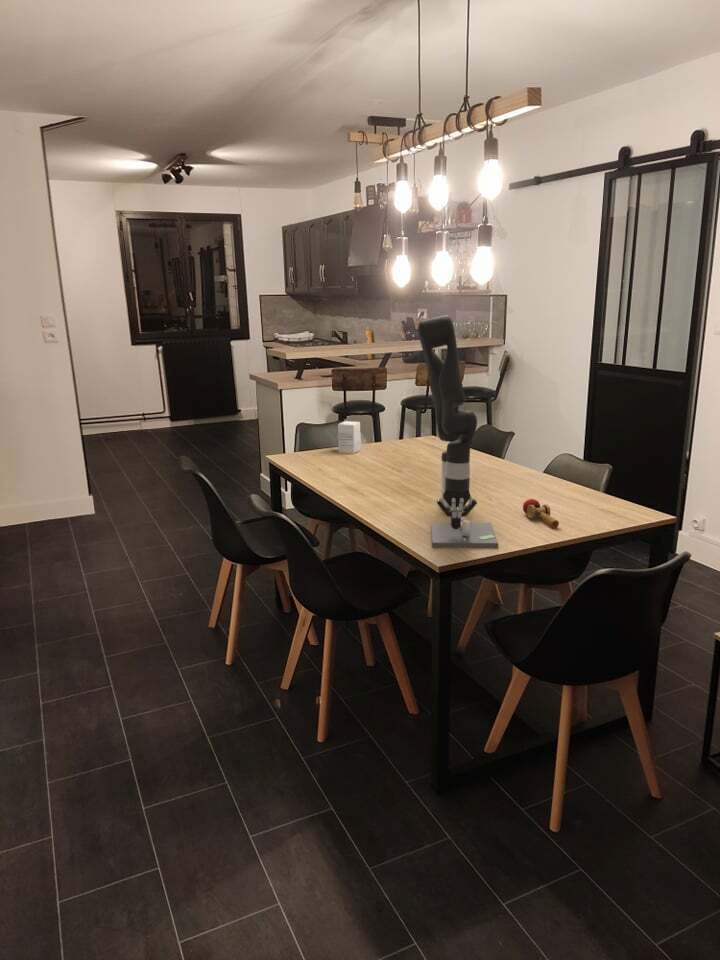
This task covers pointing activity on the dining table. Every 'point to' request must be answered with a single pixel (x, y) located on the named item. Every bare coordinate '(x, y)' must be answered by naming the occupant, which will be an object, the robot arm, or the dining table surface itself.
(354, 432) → the supplement box
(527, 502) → the kendama
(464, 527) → the pale grey bar
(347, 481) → the dining table surface
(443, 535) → the dial plate
